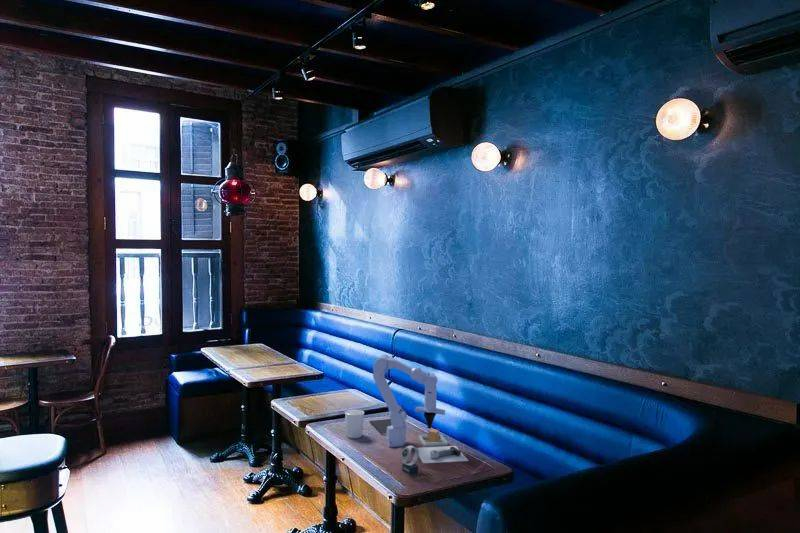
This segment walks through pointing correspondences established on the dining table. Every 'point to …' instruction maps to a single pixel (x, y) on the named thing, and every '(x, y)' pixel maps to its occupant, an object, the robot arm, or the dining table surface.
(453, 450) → the crank
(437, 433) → the block
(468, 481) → the dining table surface
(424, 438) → the parts tray
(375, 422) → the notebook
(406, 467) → the watch
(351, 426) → the candle holder
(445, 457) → the crank plate
